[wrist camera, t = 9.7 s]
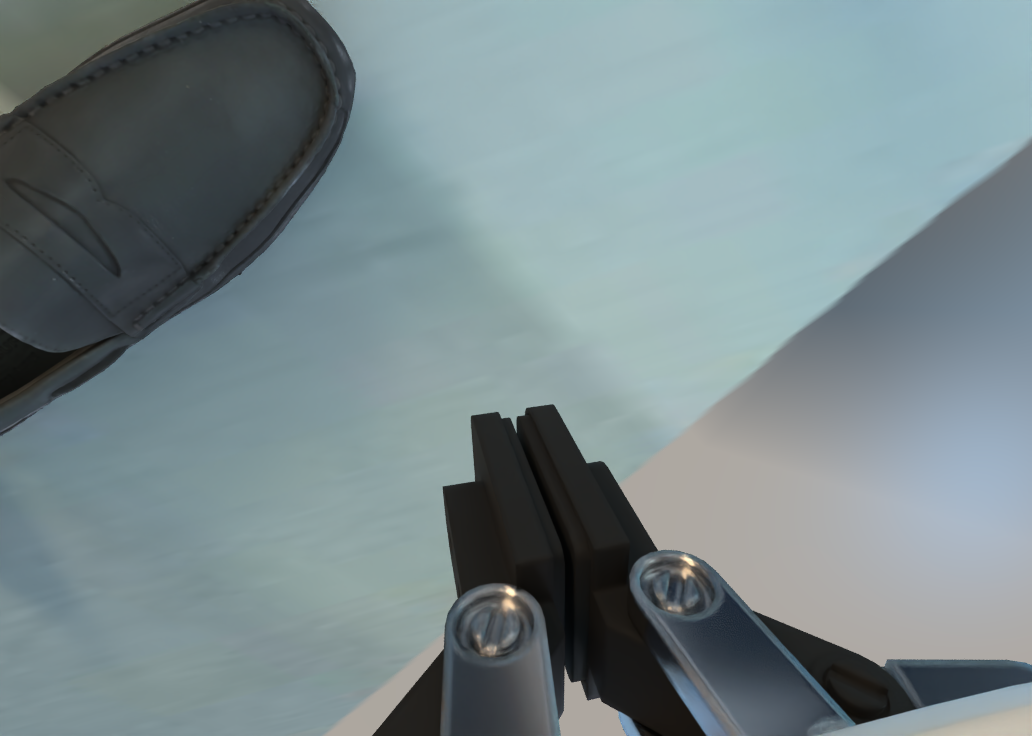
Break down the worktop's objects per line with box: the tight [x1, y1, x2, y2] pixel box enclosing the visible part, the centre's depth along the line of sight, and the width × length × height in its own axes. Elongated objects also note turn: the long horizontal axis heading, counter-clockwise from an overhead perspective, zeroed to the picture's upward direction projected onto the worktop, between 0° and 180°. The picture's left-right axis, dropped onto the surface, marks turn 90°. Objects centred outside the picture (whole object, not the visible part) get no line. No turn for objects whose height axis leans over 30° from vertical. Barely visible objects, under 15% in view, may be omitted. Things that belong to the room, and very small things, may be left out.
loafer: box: [0, 0, 356, 436], centre depth 24 cm, size 10×29×10 cm, turn 130°
